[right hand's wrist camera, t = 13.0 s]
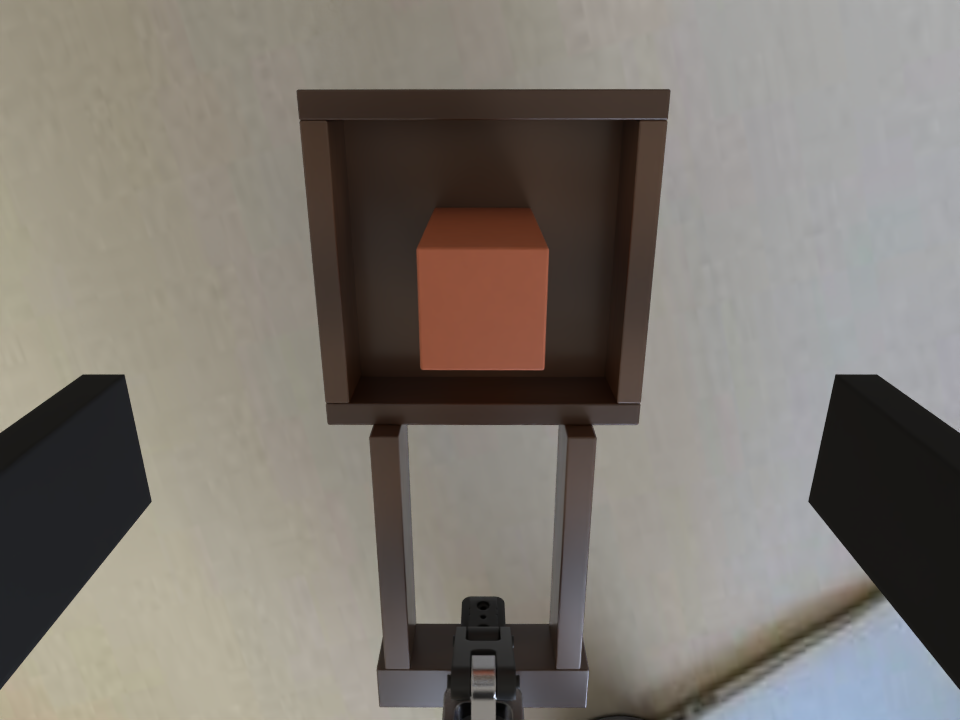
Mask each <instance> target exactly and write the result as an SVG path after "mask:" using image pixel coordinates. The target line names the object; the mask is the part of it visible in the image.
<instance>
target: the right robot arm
mask: <svg viewBox="0 0 960 720" xmlns="http://www.w3.org/2000/svg"><path fill="white" fill-rule="evenodd" d="M151 502H152V501H151V496H150V492H149V487H148V482H147V478H146V473H145V468H144V464H143V459H142V454H141V450H140V445H139V440H138V436H137V431H136V426H135V422H134V417H133V412H132V408H131V403H130V398H129V394H128V389H127V384H126V380H125V375H82V376H80V377H79V378H77V379H76V380H75V381H73V382H72V383H70V384H69V385H68V386H66V387H65V388H63V389H62V390H60V391H59V392H58V393H56V394H55V395H53V396H52V397H51V398H49V399H48V400H46V401H45V402H44V403H42V404H41V405H39V406H38V407H36V408H35V409H34V410H32V411H31V412H29V413H28V414H27V415H25V416H24V417H22V418H21V419H19V420H18V421H17V422H15V423H14V424H12V425H11V426H10V427H8V428H7V429H5V430H4V431H3V432H1V433H0V689H1V688H2V687H3V686H4V684H5V683H6V682H7V681H8V680H9V678H10V677H11V676H12V675H13V673H14V672H15V671H16V670H17V668H18V667H19V666H20V665H21V663H22V662H23V661H24V660H25V658H26V657H27V656H28V655H29V653H30V652H31V651H32V650H33V648H34V647H35V646H36V645H37V643H38V642H39V641H40V640H41V638H42V637H43V636H44V635H45V634H46V632H47V631H48V630H49V629H50V627H51V626H52V625H53V624H54V622H55V621H56V620H57V619H58V617H59V616H60V615H61V614H62V612H63V611H64V610H65V609H66V607H67V606H68V605H69V604H70V602H71V601H72V600H73V599H74V597H75V596H76V595H77V594H78V593H79V591H80V590H81V589H82V588H83V586H84V585H85V584H86V583H87V581H88V580H89V579H90V578H91V576H92V575H93V574H94V573H95V571H96V570H97V569H98V568H99V566H100V565H101V564H102V563H103V561H104V560H105V559H106V558H107V556H108V555H109V554H110V553H111V551H112V550H113V549H114V548H115V547H116V545H117V544H118V543H119V542H120V540H121V539H122V538H123V537H124V535H125V534H126V533H127V532H128V530H129V529H130V528H131V527H132V525H133V524H134V523H135V522H136V520H137V519H138V518H139V517H140V515H141V514H142V513H143V512H144V510H145V509H146V508H147V507H148V505H149V504H150V503H151ZM808 502H809V503H810V504H811V505H812V507H813V508H814V509H815V510H816V512H817V513H818V514H819V515H820V517H821V518H822V519H823V520H824V522H825V523H826V524H827V525H828V527H829V528H830V529H831V530H832V532H833V533H834V534H835V535H836V537H837V538H838V539H839V540H840V542H841V543H842V544H843V545H844V547H845V548H846V549H847V550H848V551H849V553H850V554H851V555H852V556H853V558H854V559H855V560H856V561H857V563H858V564H859V565H860V566H861V568H862V569H863V570H864V571H865V573H866V574H867V575H868V576H869V578H870V579H871V580H872V581H873V583H874V584H875V585H876V586H877V588H878V589H879V590H880V591H881V593H882V594H883V595H884V596H885V597H886V599H887V600H888V601H889V602H890V604H891V605H892V606H893V607H894V609H895V610H896V611H897V612H898V614H899V615H900V616H901V617H902V619H903V620H904V621H905V622H906V624H907V625H908V626H909V627H910V629H911V630H912V631H913V632H914V634H915V635H916V636H917V637H918V638H919V640H920V641H921V642H922V643H923V645H924V646H925V647H926V648H927V650H928V651H929V652H930V653H931V655H932V656H933V657H934V658H935V660H936V661H937V662H938V663H939V665H940V666H941V667H942V668H943V670H944V671H945V672H946V673H947V675H948V676H949V677H950V678H951V680H952V681H953V682H954V683H955V684H956V686H957V687H958V688H959V689H960V433H959V432H957V431H956V430H955V429H953V428H952V427H950V426H949V425H948V424H946V423H945V422H943V421H942V420H941V419H939V418H938V417H936V416H935V415H933V414H932V413H931V412H929V411H928V410H926V409H925V408H924V407H922V406H921V405H919V404H918V403H916V402H915V401H914V400H912V399H911V398H909V397H908V396H907V395H905V394H904V393H902V392H901V391H900V390H898V389H897V388H895V387H894V386H892V385H891V384H890V383H888V382H887V381H885V380H884V379H883V378H881V377H880V376H878V375H835V380H834V384H833V389H832V394H831V398H830V403H829V408H828V412H827V417H826V422H825V426H824V431H823V436H822V440H821V445H820V450H819V454H818V459H817V464H816V468H815V473H814V478H813V482H812V487H811V492H810V496H809V501H808Z"/></svg>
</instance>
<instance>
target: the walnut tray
mask: <svg viewBox="0 0 960 720" xmlns="http://www.w3.org/2000/svg"><path fill="white" fill-rule="evenodd" d="M669 100H670V90H669V89H371V90H297V101H298V112H299V119H300V120H301V121H300V132H301V143H302V154H303V164H304V175H305V186H306V197H307V208H308V218H309V229H310V240H311V251H312V261H313V272H314V283H315V294H316V304H317V315H318V326H319V337H320V347H321V358H322V369H323V380H324V391H325V401H326V411H327V422H328V424H329V425H373V428H372V431H371V434H370V437H369V440H370V455H371V469H372V484H373V499H374V513H375V528H376V543H377V557H378V572H379V587H380V601H381V616H382V630H383V638H382V644H381V649H380V654H379V660H378V665H377V681H378V694H379V706H380V707H443V701H444V693H445V691H446V690H447V675H448V674H450V675H451V665H452V657H453V650H454V647H453V635H455V634H456V627H461V624H416V609H415V586H414V564H413V542H412V519H411V497H410V475H409V452H408V430H407V425H559V431H558V452H557V473H556V495H555V516H554V537H553V559H552V580H551V602H550V623H549V624H505V627H510V630H511V636H512V635H514V647H513V651H514V659H515V666H516V675H520V689H519V690H520V691H521V692H522V695H523V708H585V707H586V703H587V689H588V676H589V668H588V662H587V657H586V652H585V646H584V641H583V625H584V611H585V597H586V582H587V568H588V554H589V540H590V525H591V511H592V497H593V483H594V468H595V454H596V440H597V438H596V435H595V432H594V429H593V426H592V425H638V423H639V414H640V402H641V394H642V384H643V373H644V363H645V352H646V341H647V331H648V320H649V310H650V299H651V289H652V278H653V268H654V257H655V247H656V236H657V226H658V215H659V205H660V194H661V184H662V173H663V163H664V152H665V142H666V131H667V119H668V111H669ZM435 208H531V210H532V212H533V215H534V217H535V219H536V221H537V224H538V226H539V228H540V230H541V233H542V235H543V237H544V239H545V242H546V244H547V246H548V248H549V265H548V291H547V316H546V342H545V368H544V370H422V369H421V368H420V343H419V313H418V284H417V255H416V249H417V247H418V244H419V242H420V240H421V238H422V236H423V233H424V231H425V229H426V227H427V224H428V222H429V220H430V218H431V215H432V213H433V211H434V209H435Z"/></svg>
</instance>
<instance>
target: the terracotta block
mask: <svg viewBox="0 0 960 720" xmlns="http://www.w3.org/2000/svg"><path fill="white" fill-rule="evenodd" d="M416 255H417V284H418V313H419V343H420V368H421V369H422V370H544V368H545V342H546V316H547V291H548V265H549V248H548V246H547V244H546V242H545V239H544V237H543V235H542V233H541V230H540V228H539V226H538V224H537V221H536V219H535V217H534V215H533V212H532V210H531V208H435V209H434V211H433V213H432V215H431V218H430V220H429V222H428V224H427V227H426V229H425V231H424V233H423V236H422V238H421V240H420V242H419V244H418V247H417V249H416Z"/></svg>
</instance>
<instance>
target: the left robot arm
mask: <svg viewBox="0 0 960 720" xmlns="http://www.w3.org/2000/svg"><path fill="white" fill-rule="evenodd" d="M453 647H454V650H453V657H452V665H451V675H450V674H448V675H447V690H446V691H445V693H444V701H443V719H442V720H524V709H523V695H522V692H521V691H520V690H519V689H520V675H516V666H515V659H514V651H513V647H514V635H512V636H511V630H510V627H505V606H504V601H503V600H502V599H501V598H499V597H467V598H465V599H464V600H463V601H462V615H461V627H456V634H455V635H453ZM598 720H643V719H639V718H635V717H627V716H614V717H607V718H602V719H598Z"/></svg>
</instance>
